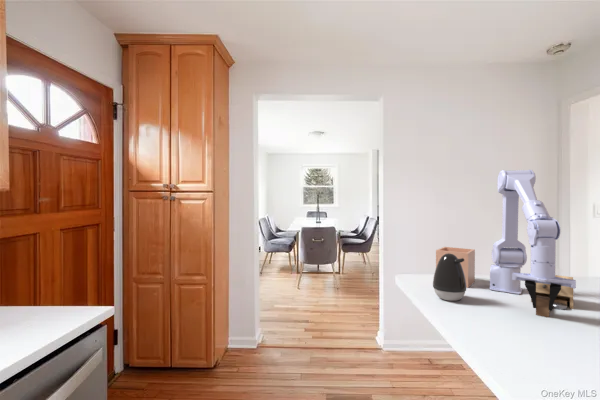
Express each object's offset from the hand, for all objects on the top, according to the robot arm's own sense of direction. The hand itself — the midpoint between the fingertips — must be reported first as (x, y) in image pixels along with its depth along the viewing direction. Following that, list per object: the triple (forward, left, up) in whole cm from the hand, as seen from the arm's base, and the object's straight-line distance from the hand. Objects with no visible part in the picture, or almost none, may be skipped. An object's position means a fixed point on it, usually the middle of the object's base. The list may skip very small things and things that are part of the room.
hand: (542, 308), depth 94 cm
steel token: (+3, +12, -2) cm, 12 cm away
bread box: (+2, +17, -2) cm, 18 cm away
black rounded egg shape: (-25, 0, -2) cm, 25 cm away
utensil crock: (-29, +24, -2) cm, 38 cm away
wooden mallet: (+2, +7, -2) cm, 8 cm away
